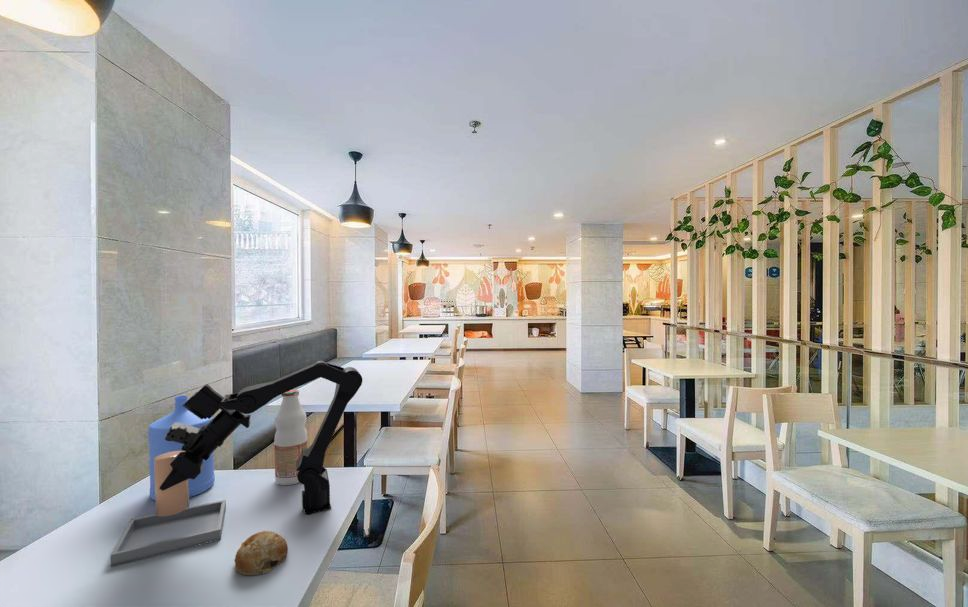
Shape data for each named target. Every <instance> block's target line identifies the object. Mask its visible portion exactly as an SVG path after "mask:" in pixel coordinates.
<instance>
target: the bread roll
mask: <svg viewBox="0 0 968 607" xmlns="http://www.w3.org/2000/svg"><path fill="white" fill-rule="evenodd" d="M288 551H289V547H288V542H287V540H286V537H285V538H284V537H283V536H282V535H281V534H278V533H276V532H274V531H271V530H263V531H259V532H256V533H254V534H252V535H250V536H249V537H248V538H247V537H246V539H245V540H244V541H243V542H242V543H241V546H240V547H239V548H238V549H237V551H236V552H235V553H236V554H235V557H234V563H235V564H234V565H235V566H234V568H235V569H236V571H237V572H238V573H239V574H242V575H243V576H258V575H259V576H260V575H262V574H263V575H267V573H270V572H271V571H272V570H274V569H275V568H277V567H278V566H280V564H281V563H283V562H284V561H285V560H286V558H287V556H288V553H289V552H288Z"/></svg>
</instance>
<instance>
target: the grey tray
mask: <svg viewBox="0 0 968 607" xmlns="http://www.w3.org/2000/svg"><path fill="white" fill-rule="evenodd" d="M226 501H227V500H226V499H222V500H218V501H213V502H207V503H203V504H198V505H194V506H189V507H188V508H187V509H185V510H184V511H182V512H180V513H177V514H174V515H170V516H157V515H156V513H154V514H150V515H145V516H140V517H136V518H132V519H130V521H129V522H128V524H127V526H126V528H125V529H124V531H123V533H122V534H121V535H120V538H119V540H118V542H117V543H116V545H115V547H114V549H113V550H112V552H111V554H110V567H115V566H118V565H123V564H127V563H131V562H135V561H140V560H143V559H147V558H151V557H155V556H156V557H157V556H159V555H164V554H167V553H171V552H176V551H179V550H180V551H181V550H184V549H188V547H189V548H192V546H193V547H196V546H195V545H197V546H200V545H199V544H201V545H204V544H203V543H205V544H207V543H206V542H209V543H211V542H210V541H213V542H216V541H215V540H217V541H221V540H220V539H222V536H223V529H224V522H225V515H226V509H227V503H226ZM221 535H222V536H221Z"/></svg>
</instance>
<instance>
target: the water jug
mask: <svg viewBox="0 0 968 607" xmlns="http://www.w3.org/2000/svg"><path fill="white" fill-rule="evenodd" d="M188 399H189V396H188V395H179V396H175V397H174V400H175V401H174V410H173V412H171V413H169V414H166V415H164V416H163V417H161V418H159V419H157V420H155V421H153V422H151V423H150V425H149V426H148V432H147V433H148V434H147V437H148V438H147V440H148V447H149V452H148V453H149V456H148V457H149V460H148V469H149V484H150V485H149V486H150V487H149V497H150V498H151V499H152V500H153V501H156V500H155V473H154V458H155V457H157V456H159V455H161V454H164V453H168V452H173V451H182V446H183V445H184V444H182V443H178V442H174V441H171V442H170V441H166V440H165V437H166V435H167V433H168V431H169V429H170V427H171V426H172V425H173V423H175V422H178V423H182V424H186V425H190V426H194V427H196V428H201V427H202V426H203V425H206V424H208V423H209V422H210V421H211V420H212V419H213V418H214V417H213V416H212V417H211V418H210V419H208V418H207V419H204V418H203V419H202V420H201V419H200V418H199V417H197V416H196V415H194V414H193V413H191V412H190V411H188V410H187V409H186V408H184V407H183V406H182V405H183V404H184V403H185V402H186V401H187V400H188ZM214 453H215V451H214V452H213V453H212V454H211V455H210V457H209V458H208V459H207V460H204V459H203V469H202V471H201V473H200V474H199V475H198V476H197V477H196V478H195V479H190V478H189V479H188V483H189V499H190V498H192V497H195V496H197V495H200V494H202V493H204V492H205V491H208V490H209V489H210V488H211V487H212V486H213V485H214V484H215V481H216V480H215V477H216V476H215V465H214V463H215V462H214V461H215V460H214V457H215V456H214V455H215V454H214Z"/></svg>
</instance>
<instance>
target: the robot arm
mask: <svg viewBox="0 0 968 607" xmlns="http://www.w3.org/2000/svg"><path fill="white" fill-rule="evenodd" d="M319 378H322V379H324V380H327V381H330V382H331V383H334V384H335V389H334V390H335V391H334V396H333V398H332V400H331V402H330V405H329V407H328V409H327V411H326V413H325V415H324V418H323V420H322V422H321V424H320V426H319V428H318V431H317V432H316V435H315V437H314V439H313V442H312V444H311V445H310V446H309V447H308V450H306V449H304V448H302V451H301V455H300V457H299V459H298V460H297V461H296V471H297V479H298V481H299V483H300V484H301V485H303V490H302V491H301V507H302V510H304V514H305V515H311V514H315V513H319V512H322V511H328V510H331V509H332V504H331V495H330V494H331V493H330V492H331V490H330V488H331V487H330V486H331V484H330V480H329V474H328V470H327V468H325V467H324V462H325V457H326V452H327V450H328V448H329V445H330V443H331V441H332V439H333V436H334V434H335V432H336V429H337V427H338V425H339V424H340V420H341V419H342V417H343V414H344V411H345V410H346V407H347V405H348V403H349V402H350V401H351V400H352V398H354V396H356V394H357V392H358V391H359V390H360V388H361V386H362V385H363V377H362V374H360V372H359V371H358V369H356V368H354V367H352V366H349V367H342V366H339V365H336V364H332V363H329V362H326V361H323V360H317V361H315V362H314V363H311V364H310V365H308V366H305V367H302V368H300V369H298V370H297V371H294V372H291V373H289V374H287V375H284V376H282V377H279V378H277V379H275V380H272V381H268V382H263V383H257V384H254V385H250V386H245V387H244V388H242V389H241V390H240V391H239V392H234V393H230V394H225V395H224V396H223V395H221V394H220V393H218V391H216V390H215V389H213V388H212V386H210V384H207V383H205V384H204V385H203V386H202V387H201V388H200V389H199V390H198V391H196V392H194V394H192V395H191V396H190V398H189V397H188V398H187V401H186V402H185V403H184V404H183V405H182V406H183V407H184V408H186V409H187V410H188V411H190V412H191V413H193V414H194V415H196V416H197V417H199V418H200V419H201V420H202V419H203V418H204V419H207V418H208V419H210V418H211V417H212V418H213V419H212V420H211V421H210V422H209V423H208V424H206V425H203V426H202V427H201V428H196V427H194V426H190V425H186V424H182V423H178V422H175V423H173V425H172V426H171V427H170V429H169V431H168V433H167V435H166V437H165V440H166V441H170V442H171V441H174V442H178V443H182V444H184V445H183V446H182V451H185V452H180V453H179V454H178V455H177V456H176V457H175V458H174V459H173V460H172V462H171V463H170V465H171V467H172V471H171V472H170V474H169V475H168V476H167V478H166V479H165V481H164V482H163V483H162V485H161V486H160V488H159V489H161V490H162V491H164V490H166V489H168V488H170V487H172V486H174V485H176V484H178V483H180V482H183V481H185V480H187V479H189V478H190V479H195V478H196V477H197V476H198V475H199V474H200V473H201V471H202V469H203V459H204V460H207V459H208V458H209V457H210V455H211V454H212V453H213V452H214V453H215V451H216V449H218V448H219V447H221V446H222V445H223V444H224V442H225V441H226V440H227V438H229V436H231V435H232V433H234V431H235V430H236V429H237V428H239V426H241V425H242V426H244V427H245V428H246V429H248V428H249V427H250V425H251V416H252V415H251V414H252V413H254V412H256V411H258V410H259V409H261V408H262V407H264V406H266V405H267V404H268V403H270V402H271V401H272V400H275V398H276V397H279V396H282V394H283V393H285V392H288V391H290V390H292V389H297V388H299V387H301V386H304V385H306V384H308V383H311V382H312V381H314V380H317V379H319ZM220 410H221V411H220ZM218 411H220V412H219V413H217V412H218ZM215 414H216V415H215ZM213 416H214V417H213Z"/></svg>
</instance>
